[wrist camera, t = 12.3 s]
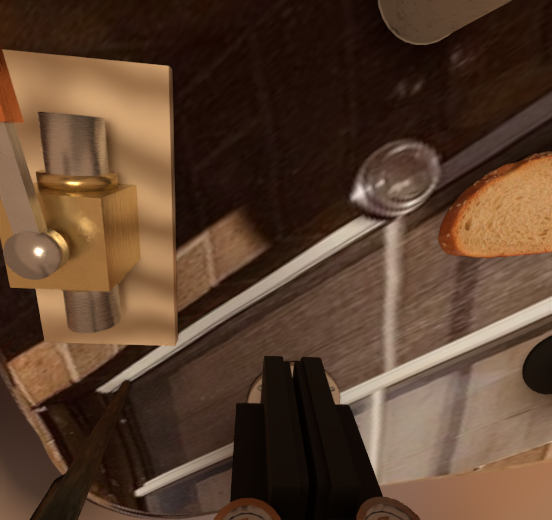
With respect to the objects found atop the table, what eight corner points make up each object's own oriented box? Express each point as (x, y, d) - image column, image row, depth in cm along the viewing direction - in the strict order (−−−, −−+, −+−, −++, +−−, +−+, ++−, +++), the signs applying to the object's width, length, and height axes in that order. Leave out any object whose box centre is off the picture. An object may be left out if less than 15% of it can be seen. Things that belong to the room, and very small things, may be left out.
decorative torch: (127, 352, 42) (-122, 773, 14) (165, 386, 44) (14, 812, 16) (89, 381, 43) (-214, 826, 15) (128, 412, 46) (-75, 856, 17)
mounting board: (177, 339, 42) (175, 345, 41) (52, 335, 41) (44, 342, 40) (172, 69, 32) (168, 66, 31) (6, 52, 31) (-6, 48, 30)
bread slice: (423, 239, 40) (440, 248, 37) (530, 97, 36) (560, 93, 32) (526, 304, 44) (550, 319, 41) (634, 185, 40) (671, 189, 36)
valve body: (143, 307, 39) (110, 357, 30) (70, 305, 38) (15, 355, 29) (132, 121, 32) (86, 113, 23) (44, 113, 32) (-38, 103, 23)
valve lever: (74, 268, 27) (62, 277, 25) (28, 272, 27) (12, 282, 25) (1, 18, 21) (-21, 7, 19) (-59, 22, 21) (-86, 11, 19)
